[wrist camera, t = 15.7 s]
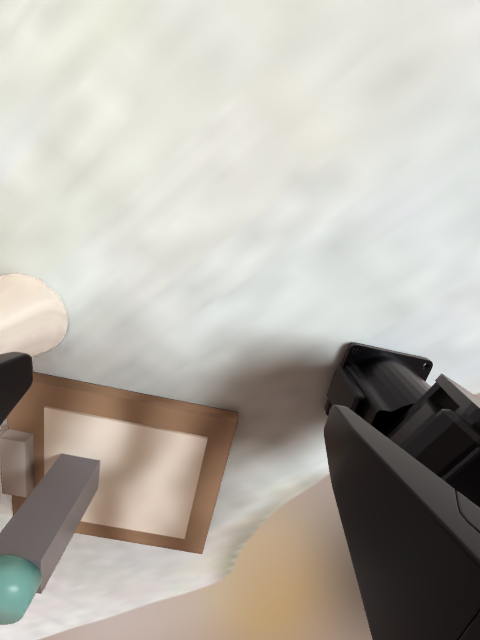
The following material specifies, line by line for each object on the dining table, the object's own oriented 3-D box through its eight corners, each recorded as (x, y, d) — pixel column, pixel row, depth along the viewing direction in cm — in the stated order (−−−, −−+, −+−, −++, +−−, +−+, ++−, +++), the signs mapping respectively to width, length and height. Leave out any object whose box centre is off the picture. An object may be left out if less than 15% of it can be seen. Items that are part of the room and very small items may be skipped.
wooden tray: (237, 412, 24) (236, 430, 22) (203, 541, 30) (200, 565, 28) (17, 368, 23) (-5, 383, 21) (22, 510, 29) (5, 533, 27)
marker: (99, 489, 26) (24, 628, 17) (59, 482, 26) (-36, 619, 17) (101, 459, 25) (23, 592, 16) (60, 452, 24) (-42, 582, 16)
